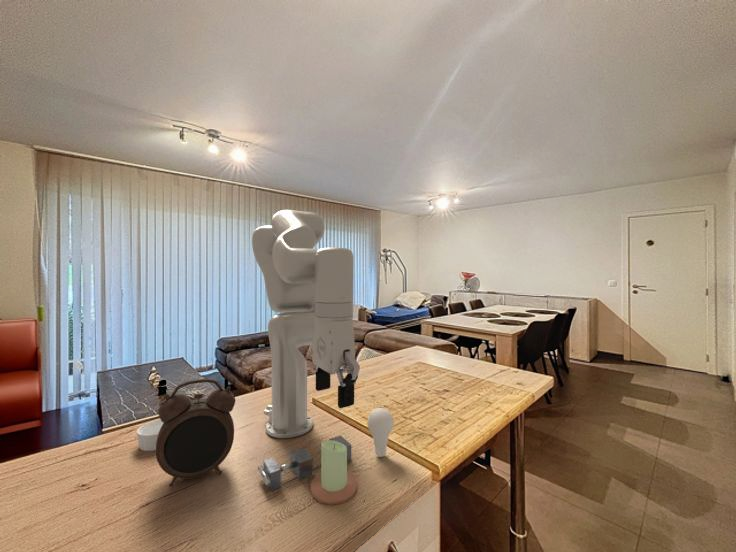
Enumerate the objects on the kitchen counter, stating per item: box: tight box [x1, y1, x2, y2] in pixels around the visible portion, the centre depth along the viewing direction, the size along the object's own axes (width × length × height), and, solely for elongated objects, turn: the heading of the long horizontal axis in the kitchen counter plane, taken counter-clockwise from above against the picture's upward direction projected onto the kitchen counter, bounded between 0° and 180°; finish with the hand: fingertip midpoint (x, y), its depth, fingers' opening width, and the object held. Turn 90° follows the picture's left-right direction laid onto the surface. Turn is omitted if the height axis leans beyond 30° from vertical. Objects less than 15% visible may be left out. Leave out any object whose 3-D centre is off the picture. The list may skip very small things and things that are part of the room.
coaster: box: [310, 470, 358, 505], centre depth 62 cm, size 9×9×1 cm
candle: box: [320, 439, 348, 492], centre depth 61 cm, size 5×5×8 cm
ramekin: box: [136, 418, 164, 452], centre depth 78 cm, size 9×9×4 cm
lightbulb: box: [366, 407, 395, 458], centre depth 72 cm, size 6×6×11 cm
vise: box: [257, 435, 352, 492], centre depth 68 cm, size 6×19×4 cm, turn 124°
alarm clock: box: [155, 378, 236, 488], centre depth 65 cm, size 15×7×20 cm, turn 117°
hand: (333, 397), depth 62 cm, fingers open, 9 cm apart
